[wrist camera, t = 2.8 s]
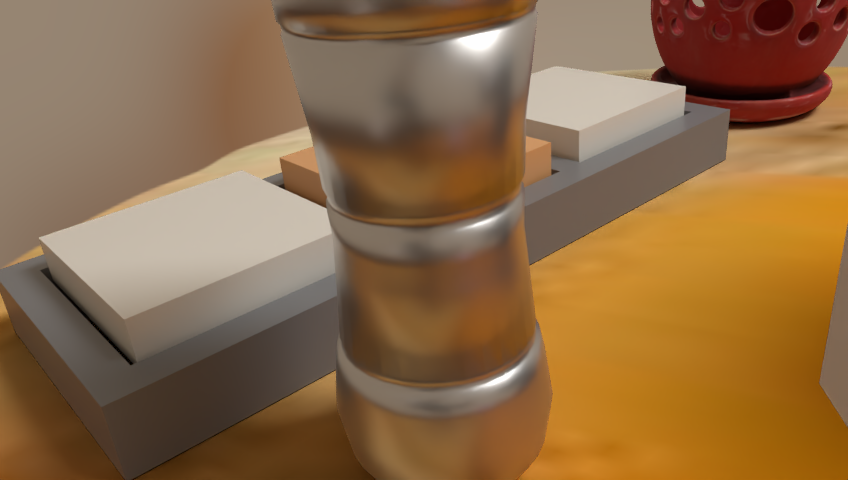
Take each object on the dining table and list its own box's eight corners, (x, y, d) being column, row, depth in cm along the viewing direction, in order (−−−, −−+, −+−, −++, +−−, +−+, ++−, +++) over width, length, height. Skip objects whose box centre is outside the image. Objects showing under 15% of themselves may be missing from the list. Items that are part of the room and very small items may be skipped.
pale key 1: (683, 120, 43) (685, 86, 43) (578, 168, 38) (579, 130, 37) (556, 96, 50) (556, 66, 49) (452, 134, 45) (450, 101, 44)
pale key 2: (363, 267, 31) (357, 222, 30) (139, 370, 25) (124, 319, 24) (249, 208, 37) (241, 170, 36) (53, 280, 32) (38, 237, 31)
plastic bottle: (396, 573, 20) (261, -359, 11) (320, 426, 26) (192, -273, 17) (596, 486, 22) (615, -354, 14) (487, 368, 28) (449, -279, 19)
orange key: (551, 181, 37) (550, 142, 36) (403, 249, 32) (398, 205, 31) (425, 143, 44) (422, 110, 43) (286, 194, 38) (279, 157, 38)
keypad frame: (725, 159, 44) (730, 109, 43) (126, 482, 24) (101, 407, 23) (553, 120, 53) (553, 78, 52) (15, 331, 33) (-8, 272, 32)
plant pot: (620, 126, 51) (626, -63, 46) (670, 76, 61) (679, -84, 56) (838, 144, 45) (874, -73, 40) (853, 86, 55) (883, -94, 50)
